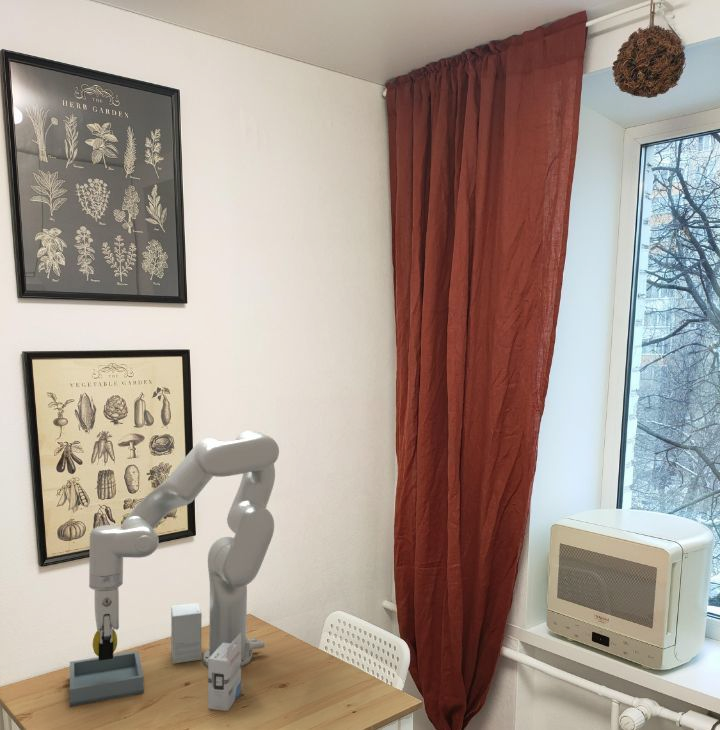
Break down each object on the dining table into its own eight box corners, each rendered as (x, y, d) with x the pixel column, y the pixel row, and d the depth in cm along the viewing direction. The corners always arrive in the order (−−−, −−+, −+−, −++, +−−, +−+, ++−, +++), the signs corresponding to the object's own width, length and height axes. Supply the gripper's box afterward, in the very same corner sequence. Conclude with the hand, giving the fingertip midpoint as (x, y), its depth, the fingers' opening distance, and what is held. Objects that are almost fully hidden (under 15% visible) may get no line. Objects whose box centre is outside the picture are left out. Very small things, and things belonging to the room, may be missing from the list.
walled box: (138, 666, 172) (138, 650, 172) (143, 693, 159) (143, 676, 159) (69, 677, 166) (69, 661, 165) (69, 706, 153) (69, 689, 153)
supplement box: (198, 647, 183) (199, 601, 182) (201, 660, 176) (202, 612, 175) (170, 651, 180) (170, 604, 180) (172, 664, 173) (172, 615, 173)
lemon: (93, 666, 158) (94, 632, 158) (91, 656, 163) (91, 623, 163) (118, 661, 161) (119, 628, 160) (115, 651, 166) (115, 619, 165)
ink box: (222, 690, 161) (222, 629, 161) (241, 692, 160) (242, 631, 160) (207, 709, 153) (207, 645, 152) (227, 712, 152) (228, 647, 151)
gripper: (125, 589, 155) (124, 667, 156) (120, 565, 171) (119, 636, 171) (90, 593, 152) (89, 672, 153) (88, 568, 168) (87, 640, 168)
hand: (105, 652), depth 162 cm, fingers closed on lemon, 5 cm apart
